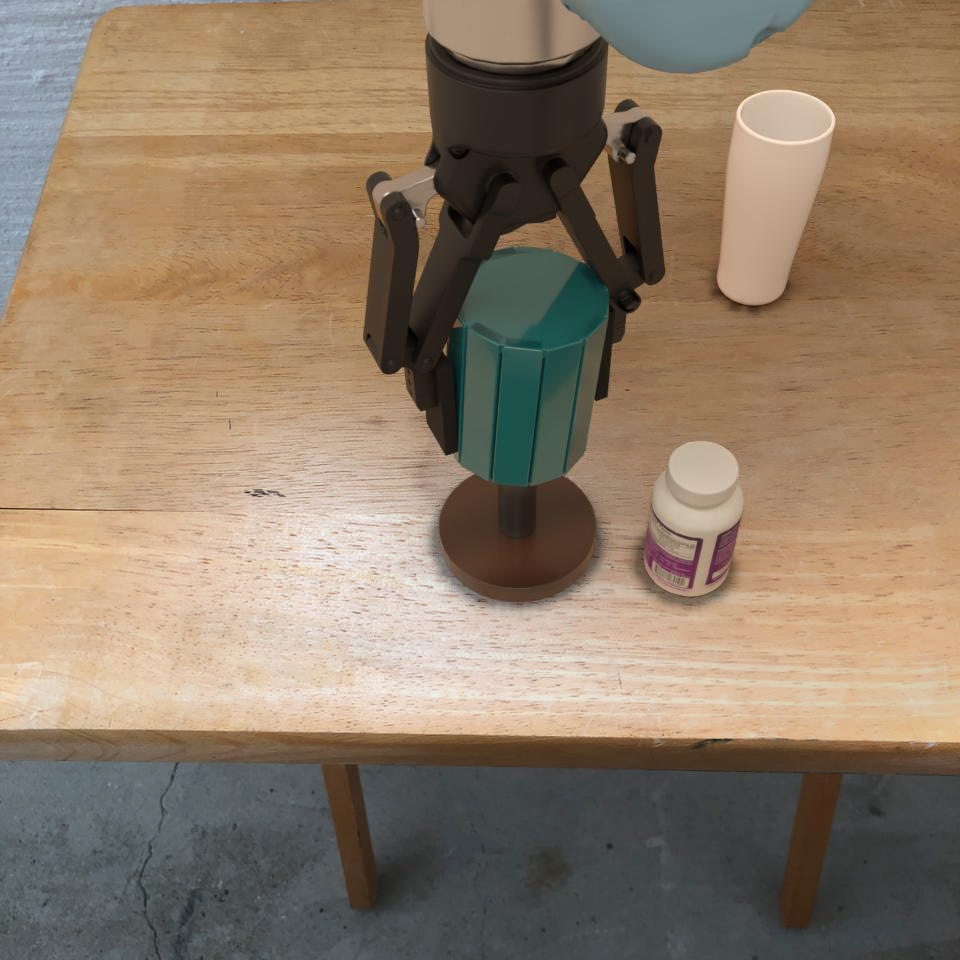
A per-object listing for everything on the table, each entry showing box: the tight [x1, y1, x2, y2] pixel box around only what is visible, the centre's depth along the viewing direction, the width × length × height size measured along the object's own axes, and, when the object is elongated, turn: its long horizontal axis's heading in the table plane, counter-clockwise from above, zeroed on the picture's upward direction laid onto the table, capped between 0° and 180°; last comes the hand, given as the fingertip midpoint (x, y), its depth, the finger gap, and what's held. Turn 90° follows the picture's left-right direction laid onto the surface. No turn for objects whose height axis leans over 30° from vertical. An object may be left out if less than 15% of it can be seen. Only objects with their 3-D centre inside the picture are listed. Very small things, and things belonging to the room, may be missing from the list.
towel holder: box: [438, 473, 597, 603], centre depth 63 cm, size 10×10×20 cm
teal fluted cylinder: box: [445, 245, 609, 487], centre depth 59 cm, size 8×8×10 cm
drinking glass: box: [716, 89, 836, 306], centre depth 80 cm, size 7×7×15 cm
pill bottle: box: [643, 440, 745, 597], centre depth 66 cm, size 5×5×10 cm
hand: (517, 409), depth 62 cm, fingers closed on teal fluted cylinder, 9 cm apart
